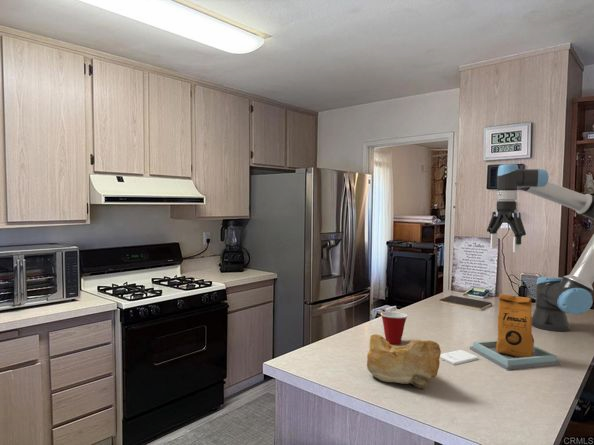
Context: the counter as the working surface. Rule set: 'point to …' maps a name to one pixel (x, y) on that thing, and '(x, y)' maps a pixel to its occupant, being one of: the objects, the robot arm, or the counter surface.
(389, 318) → the plastic cup
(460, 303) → the hardcover book
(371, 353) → the rough brown rock
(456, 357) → the external hard drive
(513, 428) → the counter surface
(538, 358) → the base
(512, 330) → the coffee package
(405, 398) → the counter surface
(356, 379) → the counter surface
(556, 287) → the robot arm
